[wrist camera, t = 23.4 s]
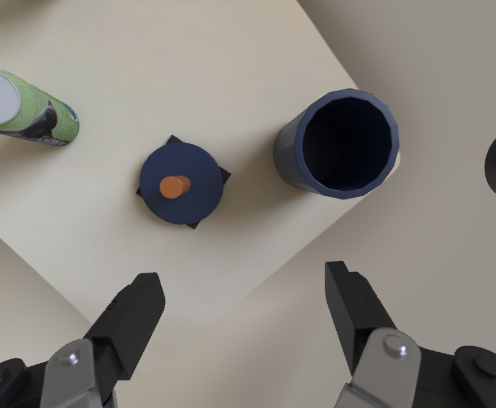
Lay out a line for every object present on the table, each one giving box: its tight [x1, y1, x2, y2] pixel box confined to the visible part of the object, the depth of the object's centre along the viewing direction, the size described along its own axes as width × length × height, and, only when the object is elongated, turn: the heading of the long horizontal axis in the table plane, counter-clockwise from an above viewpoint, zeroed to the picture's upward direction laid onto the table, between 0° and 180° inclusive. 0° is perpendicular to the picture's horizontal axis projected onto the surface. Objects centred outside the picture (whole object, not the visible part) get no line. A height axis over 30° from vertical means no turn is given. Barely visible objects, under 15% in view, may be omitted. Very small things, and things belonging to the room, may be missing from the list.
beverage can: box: [0, 70, 79, 146], centre depth 28 cm, size 6×7×12 cm
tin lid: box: [140, 142, 223, 224], centre depth 32 cm, size 12×12×7 cm
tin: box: [274, 88, 399, 200], centre depth 30 cm, size 11×11×12 cm
